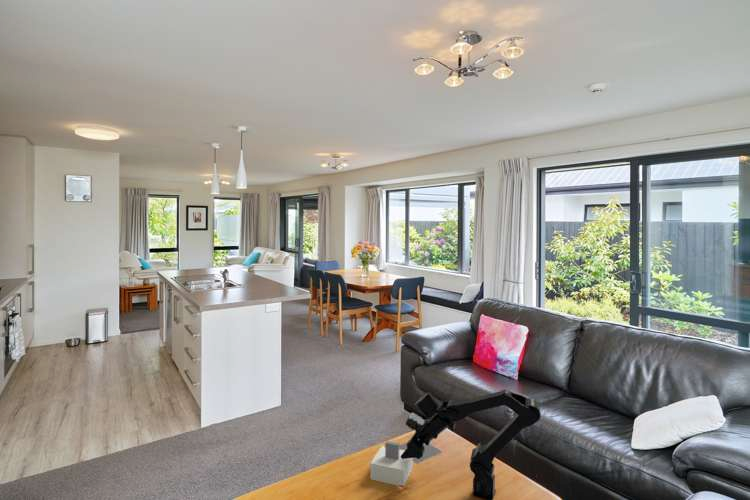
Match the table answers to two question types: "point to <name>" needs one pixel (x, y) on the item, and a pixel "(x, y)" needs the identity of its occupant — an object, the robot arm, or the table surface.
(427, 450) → the mat
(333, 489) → the table surface
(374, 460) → the cover
